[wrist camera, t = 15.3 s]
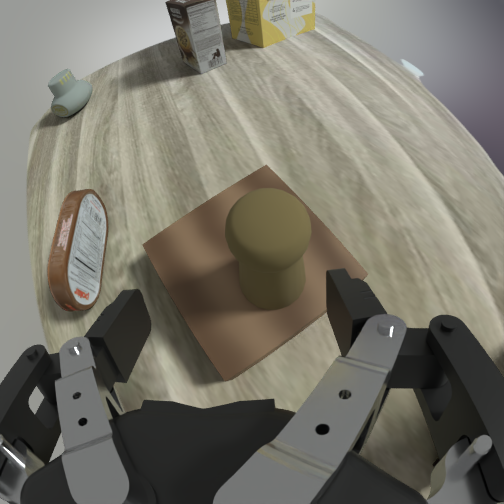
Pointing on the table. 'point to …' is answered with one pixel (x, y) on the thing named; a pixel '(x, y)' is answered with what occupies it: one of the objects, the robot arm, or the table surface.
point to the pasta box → (269, 20)
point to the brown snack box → (198, 33)
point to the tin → (78, 251)
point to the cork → (269, 246)
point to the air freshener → (68, 93)
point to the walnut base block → (227, 280)
